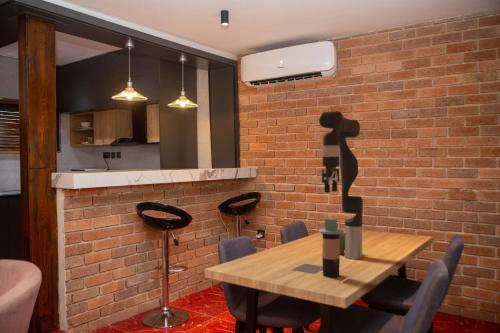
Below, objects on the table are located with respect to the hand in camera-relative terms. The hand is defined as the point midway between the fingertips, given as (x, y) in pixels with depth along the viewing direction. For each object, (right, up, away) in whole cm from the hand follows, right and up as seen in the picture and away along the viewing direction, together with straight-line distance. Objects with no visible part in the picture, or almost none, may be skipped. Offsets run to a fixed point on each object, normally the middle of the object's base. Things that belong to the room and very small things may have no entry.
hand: (330, 192), depth 184 cm
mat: (-8, -38, +13) cm, 41 cm away
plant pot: (+14, -38, +49) cm, 63 cm away
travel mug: (0, -38, 0) cm, 38 cm away
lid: (0, -18, 0) cm, 18 cm away
